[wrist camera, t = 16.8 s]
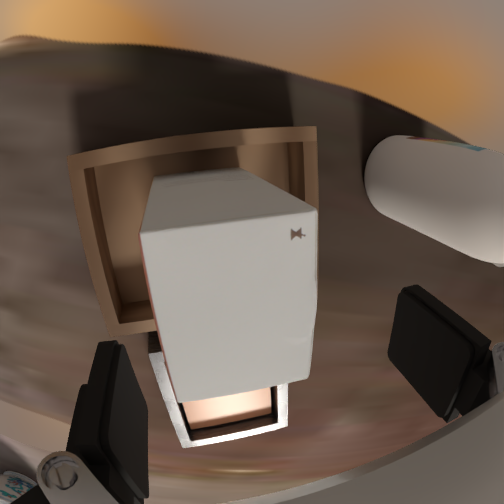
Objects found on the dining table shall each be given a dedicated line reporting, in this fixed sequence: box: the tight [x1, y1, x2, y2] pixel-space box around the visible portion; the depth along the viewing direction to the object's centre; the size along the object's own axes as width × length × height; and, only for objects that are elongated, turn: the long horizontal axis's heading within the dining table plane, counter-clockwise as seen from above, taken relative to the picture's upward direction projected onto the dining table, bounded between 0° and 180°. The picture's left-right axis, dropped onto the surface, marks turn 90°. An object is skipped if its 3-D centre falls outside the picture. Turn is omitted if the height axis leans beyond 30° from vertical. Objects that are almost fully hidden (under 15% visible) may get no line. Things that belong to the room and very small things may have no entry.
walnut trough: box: [67, 126, 319, 337], centre depth 23 cm, size 16×13×4 cm
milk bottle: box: [364, 135, 504, 263], centre depth 18 cm, size 8×8×20 cm
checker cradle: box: [148, 331, 288, 448], centre depth 28 cm, size 11×13×4 cm
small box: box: [138, 167, 318, 403], centre depth 18 cm, size 8×6×13 cm
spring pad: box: [182, 387, 271, 429], centre depth 28 cm, size 8×10×1 cm
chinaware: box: [0, 471, 37, 504], centre depth 27 cm, size 15×15×8 cm
